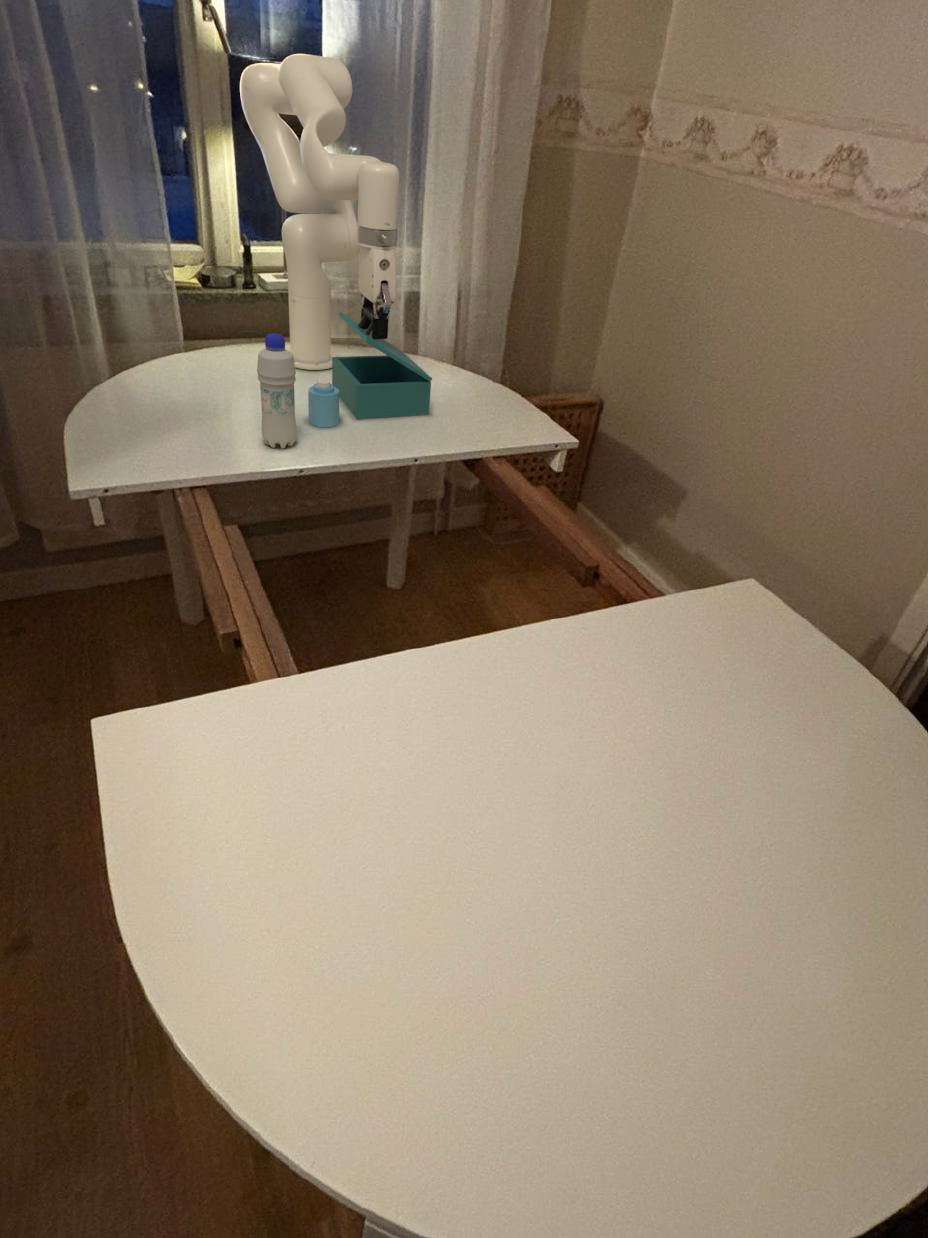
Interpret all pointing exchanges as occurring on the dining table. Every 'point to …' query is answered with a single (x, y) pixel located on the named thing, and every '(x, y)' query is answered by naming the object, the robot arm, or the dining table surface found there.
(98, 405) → the dining table surface
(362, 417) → the teal hollow box
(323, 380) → the water bottle
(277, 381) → the bottle
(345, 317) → the lid
